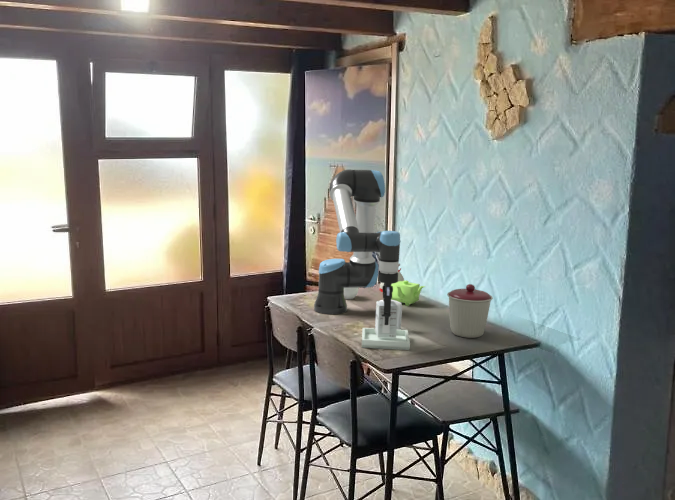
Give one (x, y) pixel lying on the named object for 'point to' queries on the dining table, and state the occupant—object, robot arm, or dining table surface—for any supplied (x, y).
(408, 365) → the dining table surface
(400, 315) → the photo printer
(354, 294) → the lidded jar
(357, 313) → the dining table surface
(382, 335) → the supplement box
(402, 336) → the tray
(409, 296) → the kettle
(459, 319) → the canister
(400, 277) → the kitchen timer
